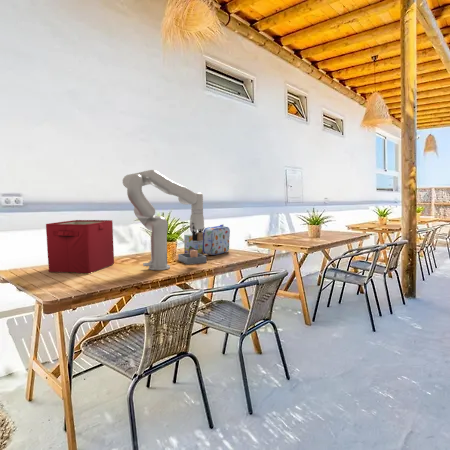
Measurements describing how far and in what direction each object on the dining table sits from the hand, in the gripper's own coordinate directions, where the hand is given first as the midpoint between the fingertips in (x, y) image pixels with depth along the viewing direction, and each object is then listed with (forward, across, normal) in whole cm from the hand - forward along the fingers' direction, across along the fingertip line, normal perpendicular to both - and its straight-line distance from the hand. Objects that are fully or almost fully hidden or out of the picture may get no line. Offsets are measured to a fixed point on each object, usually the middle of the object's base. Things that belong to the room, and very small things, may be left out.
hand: (197, 239), depth 217 cm
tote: (+15, -3, -7) cm, 17 cm away
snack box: (+16, -32, -24) cm, 43 cm away
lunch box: (+16, -37, -8) cm, 41 cm away
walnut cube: (+1, 0, 0) cm, 1 cm away
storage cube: (+16, +47, -52) cm, 72 cm away
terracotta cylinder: (+15, -1, -4) cm, 15 cm away
